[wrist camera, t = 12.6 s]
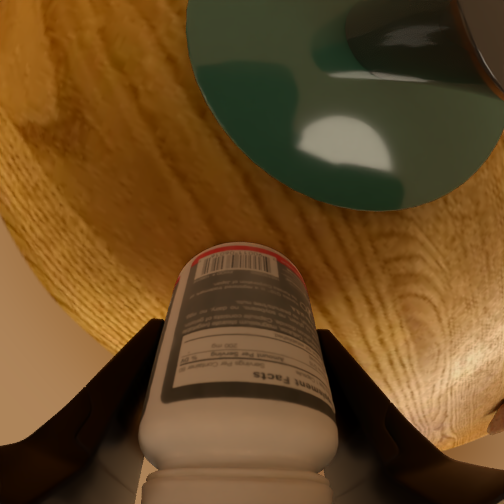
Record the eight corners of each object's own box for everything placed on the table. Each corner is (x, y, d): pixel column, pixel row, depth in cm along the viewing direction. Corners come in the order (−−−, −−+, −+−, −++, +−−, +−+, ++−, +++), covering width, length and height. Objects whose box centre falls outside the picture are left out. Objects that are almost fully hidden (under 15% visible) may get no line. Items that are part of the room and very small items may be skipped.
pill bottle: (247, 352, 13) (248, 545, 6) (153, 297, 11) (94, 519, 4) (332, 288, 11) (394, 521, 4) (232, 209, 9) (207, 534, 2)
